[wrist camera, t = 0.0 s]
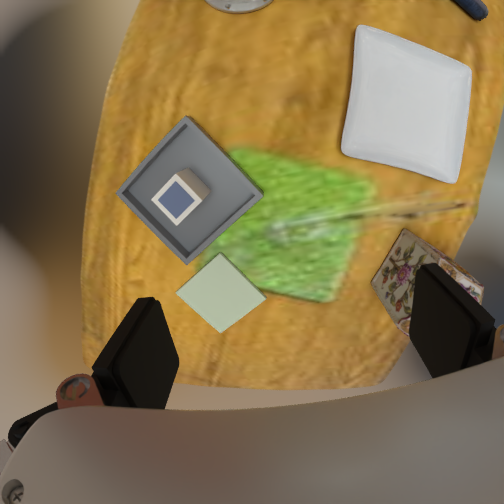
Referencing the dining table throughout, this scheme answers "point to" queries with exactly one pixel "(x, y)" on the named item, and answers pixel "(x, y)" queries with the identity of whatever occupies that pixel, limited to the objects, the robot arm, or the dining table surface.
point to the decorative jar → (403, 276)
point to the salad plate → (406, 106)
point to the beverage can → (474, 8)
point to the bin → (208, 171)
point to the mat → (220, 293)
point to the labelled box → (181, 195)
